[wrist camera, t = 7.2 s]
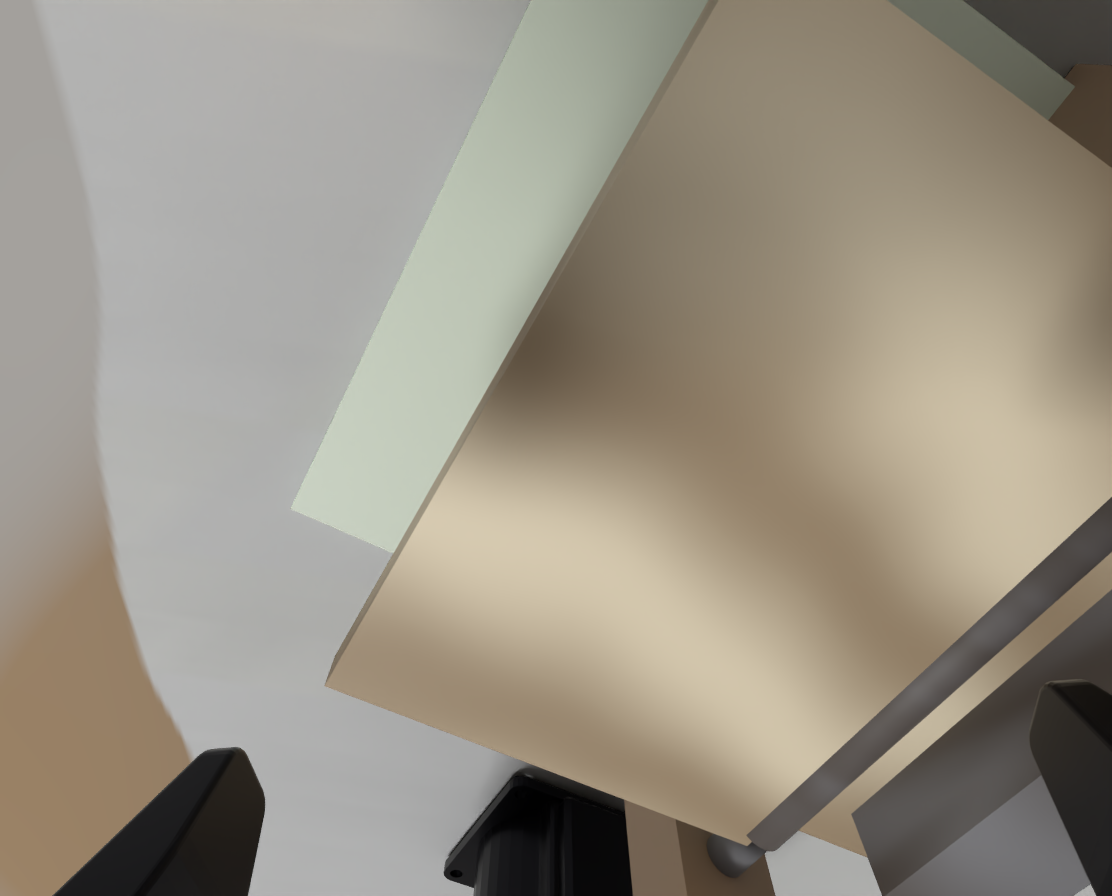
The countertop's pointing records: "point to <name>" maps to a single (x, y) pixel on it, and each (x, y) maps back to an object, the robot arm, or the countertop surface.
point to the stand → (527, 265)
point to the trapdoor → (792, 466)
